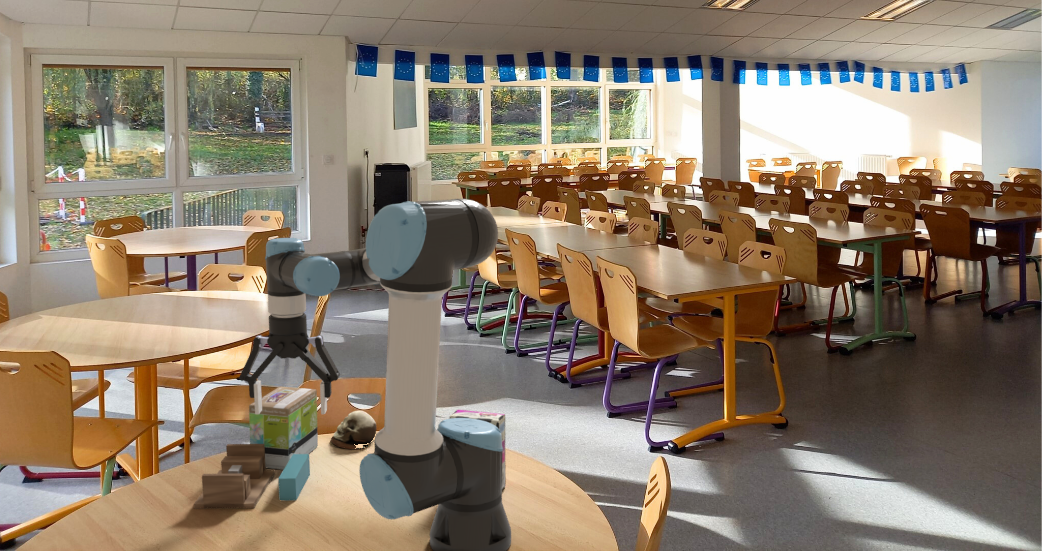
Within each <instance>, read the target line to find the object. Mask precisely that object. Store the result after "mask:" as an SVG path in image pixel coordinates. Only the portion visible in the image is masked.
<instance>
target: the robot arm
mask: <svg viewBox="0 0 1042 551" xmlns="http://www.w3.org/2000/svg"><path fill="white" fill-rule="evenodd" d="M365 237H366V238H365V247H364V248H359V249H358V248H357V249H352V250H351V249H350V250H340V251H333V252H332V251H331V252H324V253H323V252H321V253H311V254H310V253H307V252H306V249H305V246H304V241H303V240H302V239H300V238H297V237H279V238H272V239H269V240H268V241H267V242H266V245H265V257H264V260H265V267H266V268H265V270H266V284H267V287H266V288H267V312H268V314H270V315H269V316H268V334H269V335H268V336H263V335H262V334H258V335H256V336H255V337H254V338H253V343H252V349H251V352H250V353H249V355H248V358H247V360H246V362H245V364H244V367H242V370H241V371H240V372H241V373H240V374H239V378H238V379H239V381H241V382H246V383H248V390H249V398H250V399H254V402H255V414H260V412H261V411H262V397H263V396H262V380H259V379H258V378H259V377H260V376H261V375H262V373H263V372H264V371H265V370H266V369H267V368H268V366H269V365H270V364H271V362H273V360H274V359H275V358H276V357H278V358H280V359H287V358H289V359H297V358H299V359H301V360H302V361H303V362H305V364H306V365H307V366H308V367H309V368H310V369H311V370H312V371H313V372H314V373H315V375H317V377H318V378H319V379H320V380H321V381H320V384H319V388H320V389H319V391H320V414H321V415H325V414H326V412H327V410H328V400H327V399H328V398H329V399H330V398H331V396H332V382H334V381H335V382H336V381H338V379H339V377H340V375H341V373H340V371H339V369H338V367H337V366H336V364H335V362H334V361H333V359H332V357H331V354H330V353H329V351H328V349H327V348H326V346H325V343H324V336H323V335H321V334H318V335H317V336H312V337H311V336H309V335H308V327H307V326H308V323H307V322H308V321H307V314H306V311H307V298H306V295H309V296H312V297H315V296H316V297H326V296H328V295H330V294H331V293H332V292H334V291H337V290H345V289H350V288H357V287H364V286H372V285H373V286H376V285H380V286H381V287H382V288H383V289H384V290H385V291H386V292H387V293H388V312H387V320H388V321H387V342H386V346H387V347H386V368H385V369H386V372H385V396H384V398H385V399H384V400H385V402H384V425H383V426H384V427H383V428H382V429H380V430H379V431H377V432H376V436H375V440H374V452H373V453H367V454H366V455H365V456H364V457H363V458H362V459H361V461H360V463H359V469H358V470H359V478H360V483H361V487H362V490H363V493H364V495H365V497H366V499H367V501H368V502H369V505H370V506H371V507H372V508H373V510H374V511H375V512H376V513H377V514H378V515H379V516H381V517H383V518H385V519H386V520H397V519H401V518H403V517H411V516H412V515H414V514H415V513H419V512H421V511H425V510H427V509H430V508H432V507H435V506H437V508H436V511H435V514H434V518H433V520H432V524H431V525H430V526H431V527H430V529H429V546H430V549H431V550H433V551H508V550H509V548H510V546H511V544H512V528H511V525H510V522H509V519H508V516H507V513H506V510H505V508H504V503H503V490H502V451H503V447H502V436H501V432H500V430H499V429H498V428H497V427H496V426H495V425H493V424H491V423H489V422H486V421H482V420H478V419H471V418H451V419H450V418H446V419H444V420H441V421H440V422H439V424H438V425H437V426H438V427H437V428H436V421H437V420H436V416H437V399H438V398H437V396H438V378H439V376H438V375H439V361H440V342H441V321H442V305H443V304H442V302H443V296H444V295H445V294H446V293H447V292H448V291H449V290H451V289H452V288H453V286H452V285H453V272H454V271H456V270H462V269H467V268H471V267H476V266H477V265H479V264H481V263H484V262H485V261H486V260H487V259H488V258H489V257H491V255H492V254H493V252H494V251H495V249H496V246H497V243H498V241H499V229H498V223H497V221H496V219H495V217H494V216H493V215H492V212H491V211H490V210H489V209H488V208H487V207H486V206H484V205H483V204H482V203H479V202H478V201H475V200H473V199H467V198H452V199H441V200H440V199H438V200H417V201H409V200H407V201H403V202H401V203H392V204H388V205H385V206H383V207H382V208H381V209H379V210H378V211H377V213H376V214H375V215H374V216H373V217H372V220H371V222H370V224H369V226H368V229H367V232H366V236H365ZM266 344H267V345H268V347H269V348H270V349H271V350H272V351H270V353H269V354H268V355H267V357H266V358H265V359H264V361H262V363H261V364H260V366H258V368H257V369H256V370H255V371H254V372H253V373H252V374H250V373H251V371H252V369H253V366H254V364H255V362H256V360H257V358H258V355H259V353H260V351H261V349H262V348H264V346H266ZM309 344H311V345H312V347H313V348H316V352H317V354H318V356H319V358H320V359H321V361H322V363H323V365H324V366H325V368H324V367H323V365H322V364H320V362H319V361H318V360H317V359H316V358H315V357H314V356H313V354H312V353H311V351H310V350H309V349H308V348H307V347H308V345H309ZM257 379H258V380H257Z"/></svg>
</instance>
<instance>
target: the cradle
mask: <svg viewBox="0 0 1042 551" xmlns="http://www.w3.org/2000/svg"><path fill="white" fill-rule="evenodd" d="M225 448H226V455H225V456H224V457H223V459H222V460H221V462H220V468H221V469H220V470H219V471H218V472H217V473H202V475H201V482H202V484H201V485H202V486H201V487H202V492H201V494H200V495H199V497H198V498H197V499H196V500H195V501H194V502H193V509H194V510H195V509H199V510H200V509H206V510H207V509H255V507H256V506H257V504H258V502H259V501H260V499H261V497H263V495H264V493H265V492H266V490H267V488H268V486H269V484H270V483H271V481H272V480H273V478H274V477H275V475H276V469H267V468H266V466H265V446H264V444H250V443H227V444H226V446H225Z"/></svg>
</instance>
